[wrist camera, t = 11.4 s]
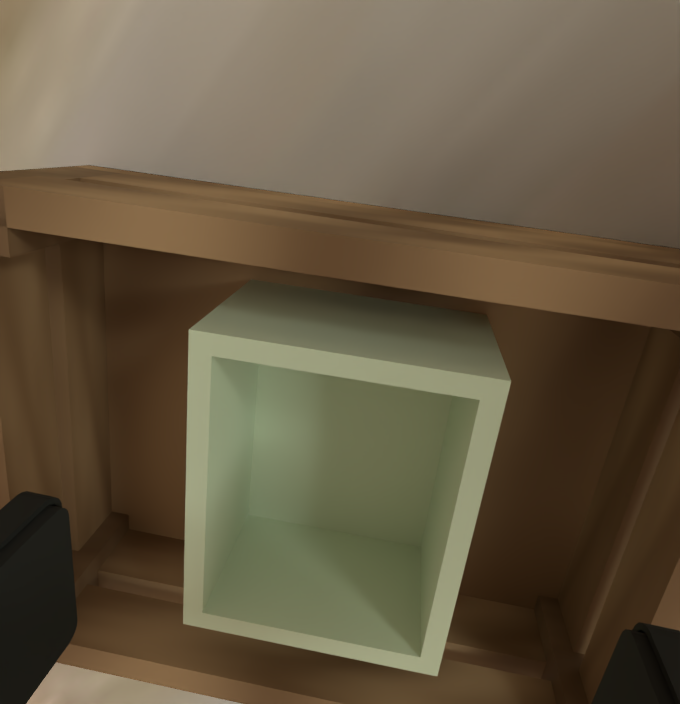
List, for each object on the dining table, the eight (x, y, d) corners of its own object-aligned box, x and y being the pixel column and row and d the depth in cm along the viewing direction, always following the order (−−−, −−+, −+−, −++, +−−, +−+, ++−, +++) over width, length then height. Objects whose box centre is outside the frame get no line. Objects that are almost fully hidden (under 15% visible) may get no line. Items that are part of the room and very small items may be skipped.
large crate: (695, 251, 15) (839, 308, 10) (565, 617, 19) (616, 786, 14) (89, 165, 16) (-65, 175, 11) (103, 525, 20) (0, 649, 15)
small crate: (486, 314, 15) (511, 381, 11) (433, 552, 18) (437, 676, 14) (251, 279, 16) (188, 329, 11) (237, 515, 18) (182, 623, 14)
